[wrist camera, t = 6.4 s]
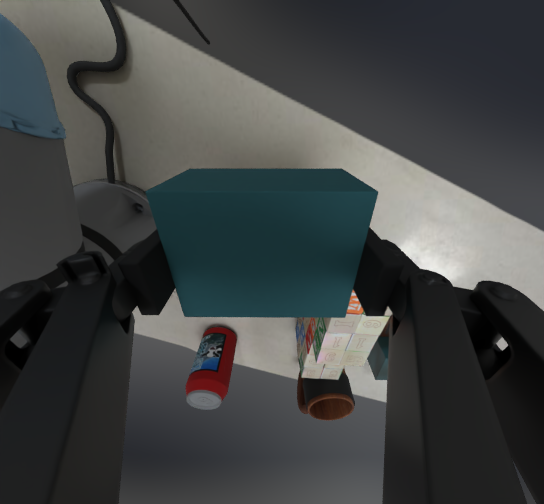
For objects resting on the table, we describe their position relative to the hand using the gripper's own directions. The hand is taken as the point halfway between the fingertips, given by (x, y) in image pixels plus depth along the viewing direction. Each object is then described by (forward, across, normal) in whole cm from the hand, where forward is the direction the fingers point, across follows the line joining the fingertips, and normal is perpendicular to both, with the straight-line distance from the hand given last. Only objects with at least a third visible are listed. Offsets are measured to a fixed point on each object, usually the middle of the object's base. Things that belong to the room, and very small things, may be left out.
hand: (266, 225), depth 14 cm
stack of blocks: (+15, +9, -19) cm, 25 cm away
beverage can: (+15, -10, -31) cm, 36 cm away
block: (0, 0, 0) cm, 0 cm away
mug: (+14, +9, -35) cm, 39 cm away
